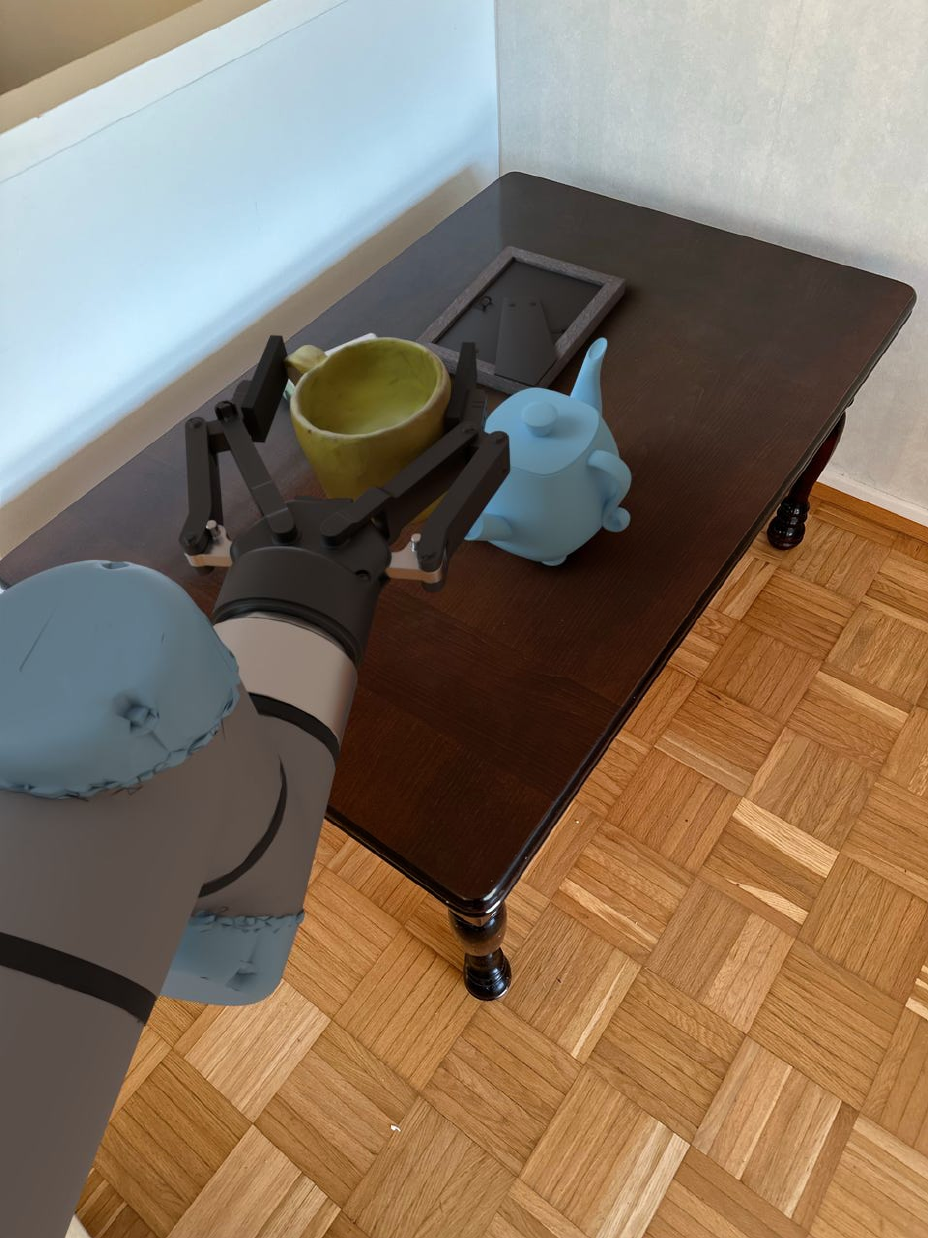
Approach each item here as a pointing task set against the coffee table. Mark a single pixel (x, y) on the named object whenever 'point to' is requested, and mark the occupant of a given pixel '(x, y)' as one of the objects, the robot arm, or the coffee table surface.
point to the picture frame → (523, 319)
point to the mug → (367, 411)
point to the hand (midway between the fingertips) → (374, 356)
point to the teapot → (556, 471)
